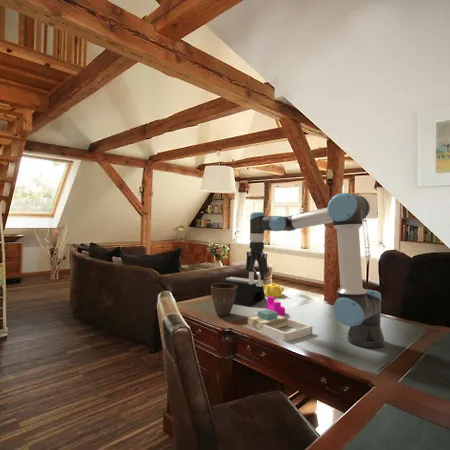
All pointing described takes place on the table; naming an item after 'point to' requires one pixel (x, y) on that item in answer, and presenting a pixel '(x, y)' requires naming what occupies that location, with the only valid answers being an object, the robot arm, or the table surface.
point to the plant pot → (223, 297)
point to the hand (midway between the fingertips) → (256, 285)
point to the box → (287, 336)
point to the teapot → (273, 290)
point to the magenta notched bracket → (275, 306)
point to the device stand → (246, 291)
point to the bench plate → (267, 322)
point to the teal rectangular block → (267, 314)
